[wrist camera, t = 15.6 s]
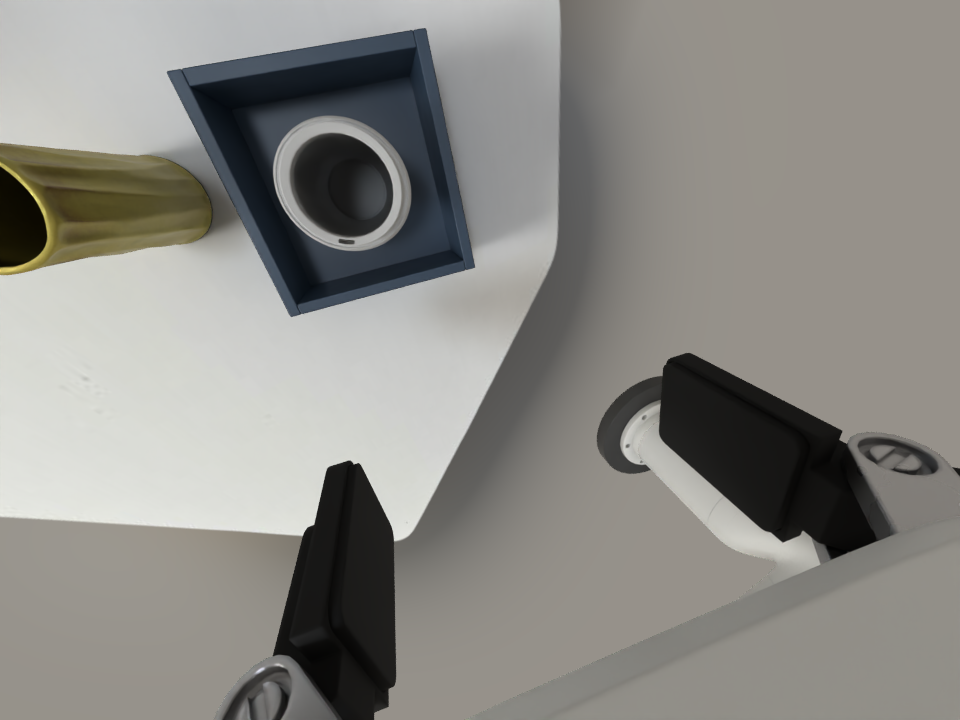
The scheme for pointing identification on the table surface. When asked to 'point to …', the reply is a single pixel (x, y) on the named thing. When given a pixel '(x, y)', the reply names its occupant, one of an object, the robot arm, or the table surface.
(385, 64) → the bin
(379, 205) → the cup
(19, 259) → the vase
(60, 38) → the table surface
